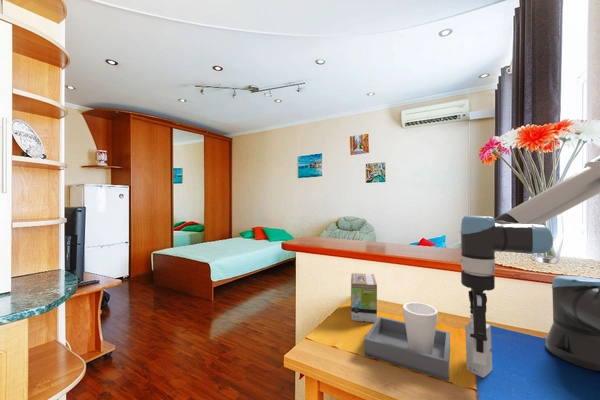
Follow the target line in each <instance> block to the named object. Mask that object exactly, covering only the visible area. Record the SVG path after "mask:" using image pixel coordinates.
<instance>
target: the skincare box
mask: <svg viewBox="0 0 600 400" xmlns="http://www.w3.org/2000/svg"><path fill="white" fill-rule="evenodd" d="M491 328H492V327H491V325H490V324H489V323H486V335H487V341H486V366H485V365H482V364H478V363H474V362H473V337H470V334H473V333H474V330H473V321H472V322H469V323H467V324H466V325H465V327H464V329H465V352H466V354H465V358H466V370H467V371H468V372H470V373H472V374H475V375H477V377H478V376H479V377H481V378H486V377H487V376H488V375H489V374H490V373H491V372H492V370H493V353H492V352H493V351H492V329H491ZM479 334H480V333H479Z"/></svg>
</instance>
